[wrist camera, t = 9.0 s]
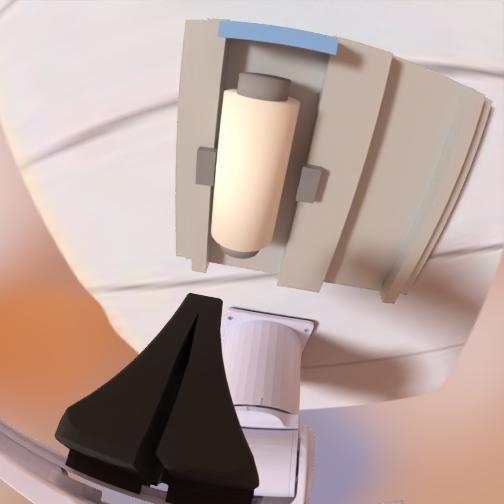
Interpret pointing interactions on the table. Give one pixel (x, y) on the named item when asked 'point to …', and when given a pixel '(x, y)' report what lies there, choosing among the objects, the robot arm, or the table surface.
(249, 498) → the robot arm
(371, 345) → the table surface
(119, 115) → the table surface
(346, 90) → the beige mounting plate
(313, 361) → the table surface
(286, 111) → the cream cylinder
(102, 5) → the table surface
